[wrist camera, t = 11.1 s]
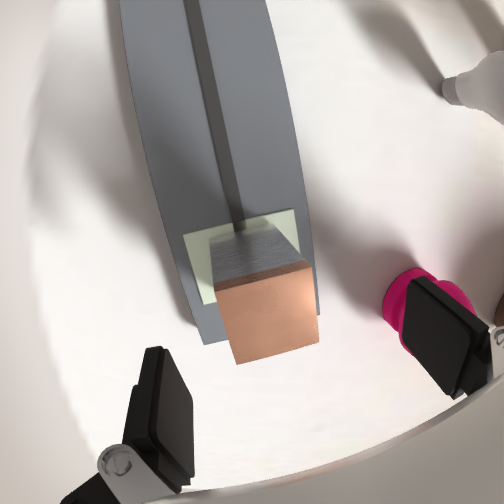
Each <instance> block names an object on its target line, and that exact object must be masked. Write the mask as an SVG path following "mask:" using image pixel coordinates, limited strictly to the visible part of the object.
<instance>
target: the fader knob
mask: <svg viewBox="0 0 504 504" xmlns="http://www.w3.org/2000/svg"><path fill="white" fill-rule="evenodd" d="M209 246H210V257H211V267H212V277H213V287H214V294H215V297H216V300H217V304H218V307H219V310H220V314H221V317H222V320H223V324H224V327H225V330H226V333H227V336H228V340H229V343H230V346H231V349H232V352H233V355H234V358H235V361H236V365H238V364H243V363H247V362H251V361H255V360H259V359H262V358H266V357H270V356H274V355H277V354H281V353H284V352H288V351H291V350H295V349H298V348H302V347H305V346H308V345H311V344H315V343H318V342H319V333H318V322H317V311H316V301H315V291H314V282H313V273H312V267H311V266H310V264H309V263H308V262H307V261H306V260H305V259H304V258H303V256H302V255H301V254H300V253H299V252H298V251H297V250H296V248H295V247H294V246H293V245H292V244H291V243H290V242H289V241H288V239H287V238H286V237H285V236H284V235H283V234H282V233H281V232H280V230H279V229H278V228H277V227H276V226H275V225H274V224H273V223H272V224H268V225H263V226H259V227H255V228H251V229H247V230H243V231H238V232H234V233H230V234H226V235H222V236H218V237H214V238H210V239H209Z"/></svg>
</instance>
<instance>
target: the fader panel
mask: <svg viewBox="0 0 504 504" xmlns="http://www.w3.org/2000/svg"><path fill="white" fill-rule="evenodd" d="M119 3H120V12H121V21H122V30H123V37H124V45H125V51H126V58H127V65H128V71H129V77H130V82H131V88H132V93H133V99H134V104H135V109H136V114H137V119H138V124H139V128H140V133H141V138H142V142H143V146H144V151H145V155H146V159H147V163H148V167H149V172H150V176H151V180H152V183H153V187H154V191H155V195H156V199H157V202H158V206H159V210H160V213H161V217H162V220H163V224H164V227H165V231H166V234H167V238H168V241H169V244H170V247H171V251H172V254H173V257H174V260H175V264H176V267H177V270H178V273H179V276H180V279H181V282H182V285H183V288H184V291H185V294H186V297H187V300H188V303H189V306H190V309H191V311H192V314H193V317H194V320H195V323H196V325H197V328H198V331H199V334H200V336H201V339H202V342H203V344H204V345H207V344H211V343H216V342H220V341H224V340H228V336H227V333H226V330H225V327H224V324H223V320H222V317H221V314H220V310H219V307H218V304H217V300H216V297H215V294H214V287H213V277H212V267H211V257H210V246H209V239H210V238H214V237H218V236H222V235H226V234H230V233H234V232H238V231H243V230H247V229H251V228H255V227H259V226H263V225H268V224H272V223H273V224H274V225H275V226H276V227H277V228H278V229H279V230H280V232H281V233H282V234H283V235H284V236H285V237H286V238H287V239H288V241H289V242H290V243H291V244H292V245H293V246H294V247H295V248H296V250H297V251H298V252H299V253H300V254H301V255H302V256H303V258H304V259H305V260H306V261H307V262H308V263H309V264H310V266H311V267H312V273H313V282H314V291H315V301H316V311H317V315H320V309H319V298H318V288H317V278H316V269H315V260H314V252H313V244H312V236H311V228H310V221H309V213H308V206H307V200H306V193H305V186H304V180H303V174H302V168H301V162H300V156H299V150H298V144H297V139H296V133H295V128H294V123H293V118H292V112H291V107H290V103H289V98H288V93H287V88H286V83H285V79H284V74H283V70H282V65H281V61H280V57H279V53H278V48H277V44H276V40H275V36H274V32H273V28H272V24H271V21H270V17H269V13H268V9H267V6H266V2H265V0H119Z"/></svg>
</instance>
